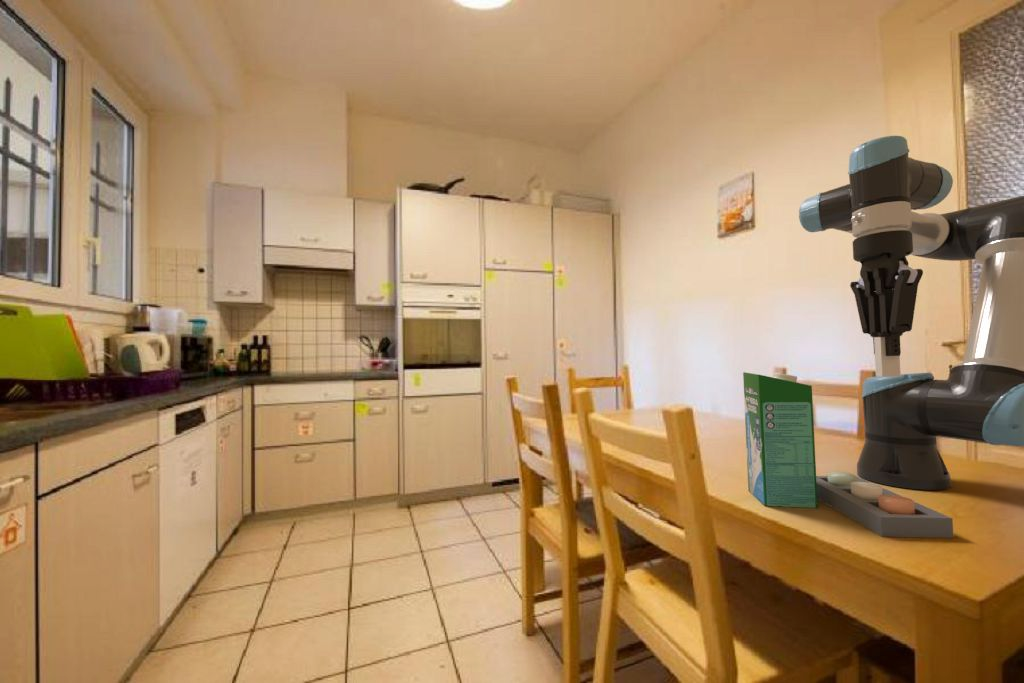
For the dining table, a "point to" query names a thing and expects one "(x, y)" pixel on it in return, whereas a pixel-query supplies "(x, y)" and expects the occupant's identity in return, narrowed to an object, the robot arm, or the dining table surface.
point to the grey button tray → (884, 513)
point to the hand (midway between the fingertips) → (888, 376)
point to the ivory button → (866, 490)
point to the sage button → (841, 478)
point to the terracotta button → (896, 504)
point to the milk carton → (780, 440)
